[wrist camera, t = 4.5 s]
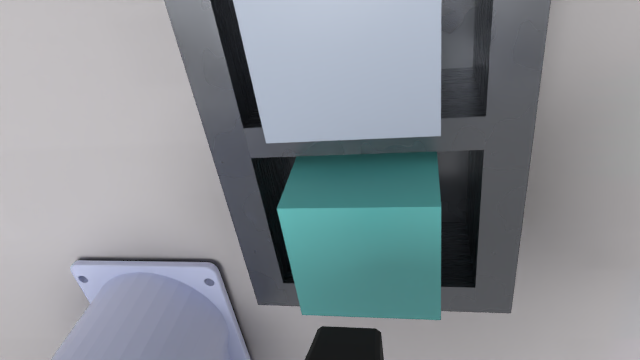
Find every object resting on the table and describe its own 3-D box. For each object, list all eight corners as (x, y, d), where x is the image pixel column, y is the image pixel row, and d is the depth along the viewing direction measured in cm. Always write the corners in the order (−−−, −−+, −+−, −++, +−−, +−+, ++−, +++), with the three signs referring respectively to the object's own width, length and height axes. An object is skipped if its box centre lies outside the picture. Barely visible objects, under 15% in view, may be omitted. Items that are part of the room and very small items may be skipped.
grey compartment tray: (494, 235, 19) (511, 313, 16) (282, 234, 21) (258, 304, 18) (570, -639, 8) (671, -958, 5) (111, -477, 10) (-31, -630, 7)
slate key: (435, 83, 13) (440, 135, 11) (291, 92, 14) (265, 143, 12) (435, -87, 11) (441, -68, 8) (262, -63, 12) (223, -40, 9)
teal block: (436, 249, 16) (440, 320, 14) (317, 249, 17) (302, 314, 15) (436, 144, 14) (441, 206, 12) (299, 150, 15) (276, 208, 12)
